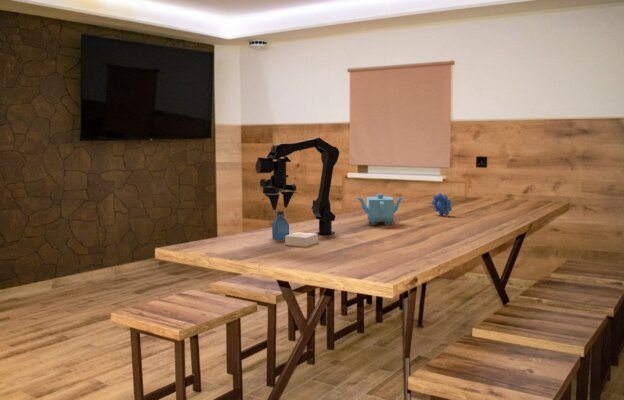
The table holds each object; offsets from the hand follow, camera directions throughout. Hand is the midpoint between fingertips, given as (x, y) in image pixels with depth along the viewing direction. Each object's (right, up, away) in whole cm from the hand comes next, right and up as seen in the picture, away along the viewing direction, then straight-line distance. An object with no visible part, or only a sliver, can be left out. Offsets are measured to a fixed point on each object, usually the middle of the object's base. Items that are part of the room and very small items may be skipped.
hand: (280, 208), depth 258 cm
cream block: (+10, -15, -10) cm, 20 cm away
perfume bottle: (0, -13, +2) cm, 13 cm away
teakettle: (+48, -8, +42) cm, 64 cm away
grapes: (+84, -5, +65) cm, 106 cm away
